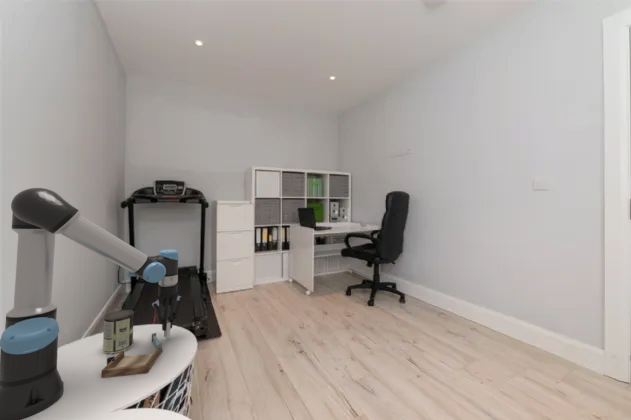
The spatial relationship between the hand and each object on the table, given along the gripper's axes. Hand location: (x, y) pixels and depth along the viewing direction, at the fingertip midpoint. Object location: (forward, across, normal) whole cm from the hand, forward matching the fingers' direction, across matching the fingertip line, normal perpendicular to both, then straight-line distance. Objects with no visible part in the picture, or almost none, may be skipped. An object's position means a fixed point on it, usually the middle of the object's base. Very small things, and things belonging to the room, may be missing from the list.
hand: (166, 336), depth 117 cm
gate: (+1, -5, -3) cm, 6 cm away
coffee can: (+2, -16, +9) cm, 18 cm away
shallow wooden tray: (+1, -16, -10) cm, 19 cm away
